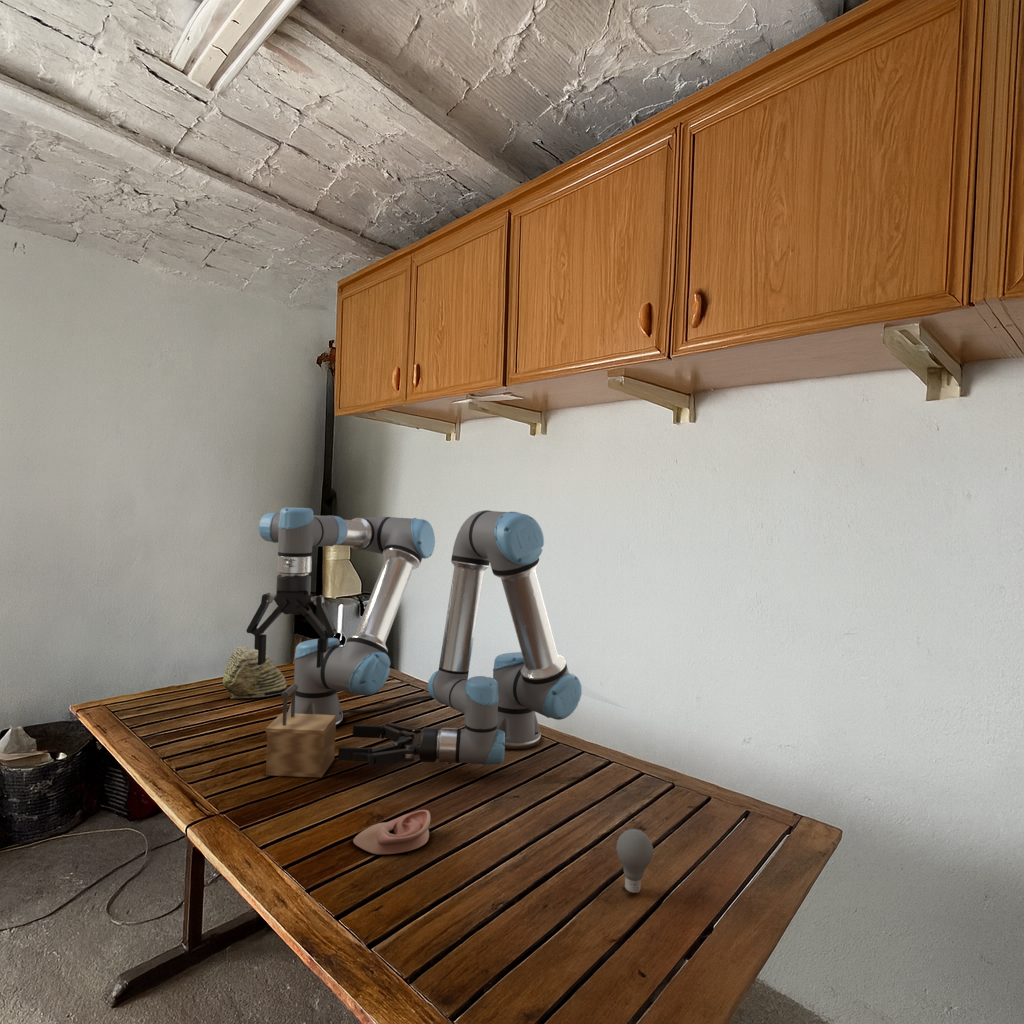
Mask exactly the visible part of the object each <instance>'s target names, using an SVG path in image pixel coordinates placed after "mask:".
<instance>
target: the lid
mask: <svg viewBox="0 0 1024 1024" xmlns="http://www.w3.org/2000/svg"><path fill="white" fill-rule="evenodd" d="M297 689H298V686H297V685H296V684H294V683H292V684H291V685H290V686H289V687H287V688H286V690H285V691H284V692H283V693H280V697H281V699H283V702H282V704H283V705H282V712H281V713H280V714H279V715H278V716H277V717H275V719H273V720H272V721H271V723H269V725H267V726H266V727H265V733H268V732H275V733H299V734H324V733H325V732H326V731H327V729H328V728H329V727H330V726H331V724H332V723H333V722H334V721H335V719H336V715H319V714H295V692H296V690H297ZM289 697H291V701H290V704H291V713H288V699H289Z"/></svg>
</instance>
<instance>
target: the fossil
mask: <svg viewBox="0 0 1024 1024" xmlns="http://www.w3.org/2000/svg"><path fill="white" fill-rule="evenodd" d="M222 676H223V677H222V685H223V687H224V688H225V690H226V691H228V693H229V698H230V699H250V698H264V697H271V696H275V695H281V694H282V693H283V692H284V691H285V690H286V689H287V688H288V686H287V680H286V678H285V676H284V674H283V673H282V672H281V669H279V668H278V667H277V665H276V663H275V662H274V660H273V659H272V658H271V657H270V656H269V655H268V654H267V653H266V662H265V663H263V664H262V665H258V650H255V648H251V647H247V646H246V647H245V646H238V647H237V648H236V649H235V650H233V651H232V653H231V656H230V657H229V659H228V660H227V663H226V666H225V668H224V671H223V675H222Z"/></svg>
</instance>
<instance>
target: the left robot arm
mask: <svg viewBox="0 0 1024 1024" xmlns="http://www.w3.org/2000/svg"><path fill="white" fill-rule="evenodd" d="M258 533H259V536H260V538H261V539H263V540H264V541H265V542H269V543H275V544H276V543H277V563H276V564H277V565H276V567H277V568H276V572H277V573H279V574H277V576H276V590H275V591H276V592H275V594H272V593H271V592H265V593H264V594H262V595H261V601H260V605H259V606H258V608H257V610H256V611H255V614H254V615H253V617H252V619H251V621H250V622H249V624H248V626H247V628H246V633H247V634H250V635H253V636H254V643H253V644H254V645H253V646H254V648H253V649H255V650H258V665H262V664H263V663H265V662H266V654H267V634H264V633H265V631H266V630H268V628H269V627H270V626H271V625H272V624H273V623H274V622H275V621H276V619H278V617H279V616H280V615H281V614H284V615H295V616H299V615H302V617H304V618H305V620H306V621H307V622H308V623H309V624H310V626H311V627H312V628H313V630H314V631H315V632H316V633H317V635H318V636H319V638H313V639H307V640H304V641H302V642H299V643H298V644H297V645H296V647H295V652H294V653H295V654H294V657H293V659H294V661H293V662H294V663H293V665H294V667H293V684H296V685H297V686H298V689H297V690H296V692H295V714H319V715H336V728H337V727H339V726H340V725H342V723H343V722H344V714H353V713H355V714H357V713H358V714H362V713H363V714H364V713H369V712H370V713H371V712H377V711H381V710H384V709H389V708H392V707H395V706H397V705H401V704H404V703H407V702H411V701H417V700H425V699H434V698H433V697H431V695H423V696H416V697H410V698H406V699H402V700H399V701H396V702H394V703H390V704H388V705H384V706H380V707H374V708H369V709H342V706H341V702H340V699H339V695H338V692H343V693H349V694H352V695H355V696H372V695H373V696H374V695H375V694H376V693H378V692H379V691H380V690H381V689H382V688H383V687H384V686H385V684H386V682H387V680H388V678H389V676H390V672H391V659H390V657H389V655H388V652H389V649H388V647H387V645H386V642H387V639H388V637H389V634H390V632H391V629H392V626H393V624H394V621H395V618H396V616H397V613H398V610H399V609H400V608H399V607H400V604H401V602H402V599H403V597H404V594H405V592H406V588H407V586H408V584H409V581H410V578H411V576H412V572H413V570H416V569H418V568H419V567H420V566H421V563H422V561H423V559H424V560H426V559H428V558H430V557H431V556H432V555H433V554H434V551H435V547H436V546H435V545H436V537H435V532H434V528H433V526H432V524H431V523H430V522H429V521H428V520H426V519H424V518H421V519H420V518H416V517H413V518H410V517H409V518H408V517H397V516H396V517H394V516H376V517H354V518H352V519H344V518H342V517H340V516H339V515H338V516H337V515H331V514H330V515H315V514H314V510H313V509H312V508H310V507H282V508H281V509H280V511H279V512H268V513H266V514H264V515H263V516H262V517H261V519H260V521H259V523H258ZM333 546H344V547H345V546H346V547H348V546H349V547H350V548H351V549H353V550H357V551H358V550H360V551H366V552H371V553H374V554H380V555H382V557H383V559H384V562H383V564H382V567H381V569H380V572H379V573H378V577H377V579H376V582H375V584H374V586H373V589H372V591H371V594H370V596H369V599H368V601H367V604H366V607H365V609H364V611H363V614H362V616H361V619H360V621H359V624H358V626H357V629H356V632H355V633H354V634H352V635H350V636H348V637H347V639H346V641H345V644H344V646H341V645H340V644H341V643H340V640H339V638H336V637H334V636H336V635H337V634H338V631H337V628H336V627H335V624H334V621H333V620H332V617H331V616H330V613H329V611H328V609H327V606H326V603H325V602H326V601H325V596H324V595H323V594H320V595H317V596H312V594H311V591H312V590H311V587H312V576H311V572H312V557H313V553H312V552H313V548H316V547H317V548H318V547H333ZM273 601H274V602H275V604H276V608H275V609H274V610H273V611H272V613H271V614H270V615H269V616H268V617H267V618H266V619H265V620H264V621H263V622H262V623H261V624H260V622H261V621H262V620H263V617H264V615H265V613H266V612H267V610H268V608H269V607H270V604H271V603H273ZM311 603H313V605H314V606H316V610H317V612H318V614H319V616H320V618H321V620H322V622H321V620H319V618H318V617H317V616H316V615H315V613H314V611H313V610H312V608H311V607H310V605H311ZM322 623H323V624H322ZM259 624H260V625H259ZM258 626H259V627H258ZM287 713H291V703H290V704H289V708H288V709H287Z"/></svg>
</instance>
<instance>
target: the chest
mask: <svg viewBox="0 0 1024 1024" xmlns="http://www.w3.org/2000/svg"><path fill="white" fill-rule="evenodd" d="M336 728H337V727H336V719H335V721H334V722H333V723H332V724H331V726H330V727H329V728H328V729H327V731H326V732H325V733H324V734H299V733H275V732H266V733H267V735H266V760H265V761H266V762H265V763H266V764H265V776H276V777H297V778H298V777H301V778H323V776H324V775H325V774H326V772H327V771H328V769H329V768H330V767H331V766H332V763H333V762H334V761H335V753H336V752H335V751H336V730H337V729H336Z"/></svg>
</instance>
